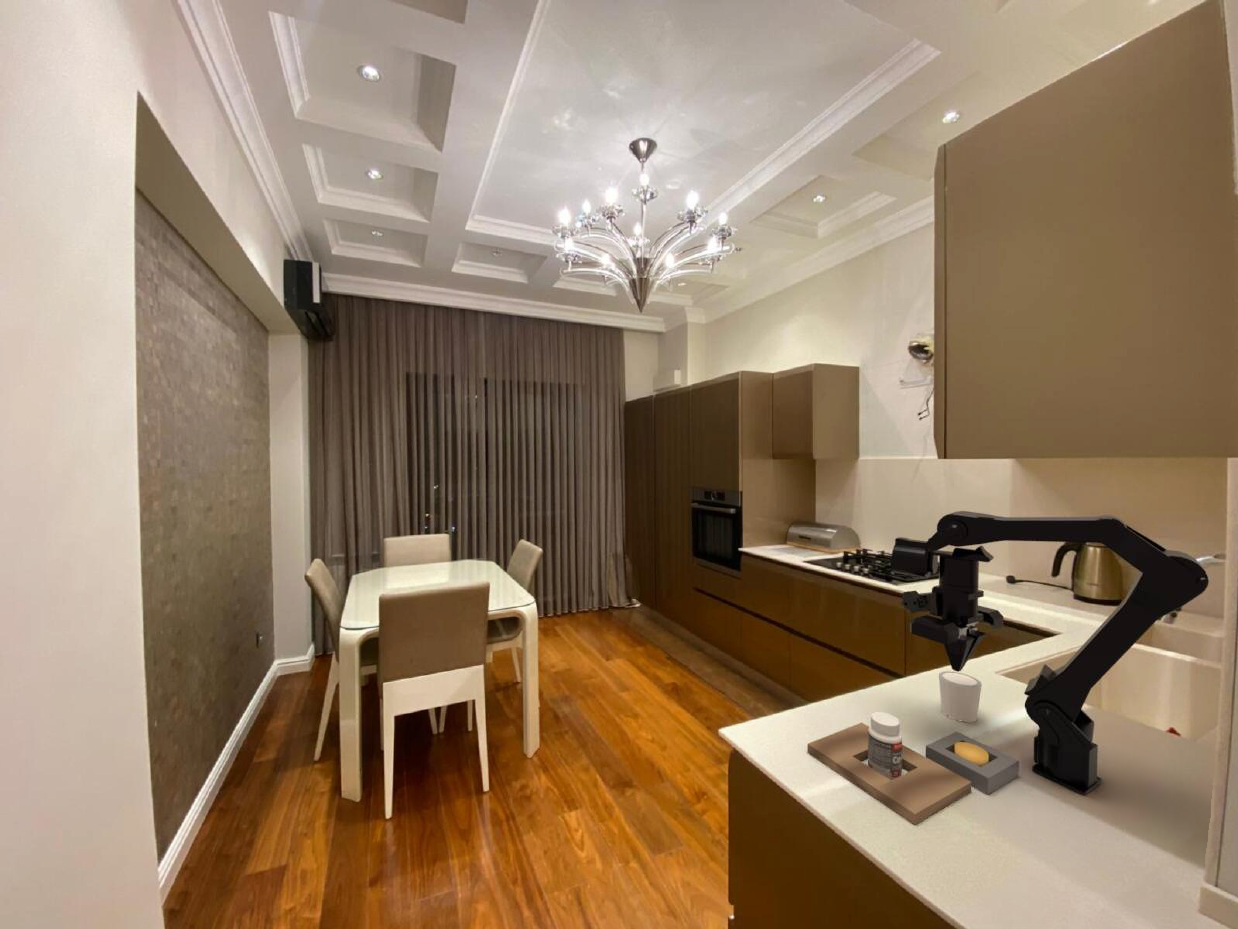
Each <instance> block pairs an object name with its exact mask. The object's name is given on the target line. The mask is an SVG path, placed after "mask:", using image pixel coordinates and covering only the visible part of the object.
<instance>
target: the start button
mask: <svg viewBox="0 0 1238 929" xmlns="http://www.w3.org/2000/svg"><path fill="white" fill-rule="evenodd" d="M955 754H956V755H958V756H960V757H962V758H964V759H966V760H968V761H970V762H972V763H974V764H976V765H978V766H980V767H982V766H984V765H985V764H987V763H988V761H989V755H988V753H987V752H986V751H985V750H984V749H983V748H981V747H979V746H977V745H974V744H971V743H967V742H958V743H956V744H955Z"/></svg>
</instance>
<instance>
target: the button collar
mask: <svg viewBox="0 0 1238 929" xmlns="http://www.w3.org/2000/svg"><path fill="white" fill-rule="evenodd" d="M958 742H967V743H971V744H974V745H977V746H979V747H981V748H983V749H984V750H985V751H986V752H987V753H988V755H989V761H988V763H987V764H985V765H984V766H982V767H980V766H978V765H976V764H974V763H972V762H970V761H968V760H966V759H964V758H962V757H960V756H958V755H956V754H955V744H956V743H958ZM925 757H926V758H928V759H930V760H932V761H934V762H936V763H937V764H939V765H941V766H943V767H945V768H947V769H948V770H950V771H952V772H954V773H956V774H958V775H960V776H961V777H963V778H965V779H967V780H969V781H971V787H973V788H975V789H977V790H978V791H980V792H982V793H984V794H986V795H987V796H989V795H990V794H992V793H993V792H995V791H998V789H1000V788H1002V787H1003V786H1006V785H1007V784H1008V783H1010V782H1011V781H1013V780H1015V779H1016V778H1018V777H1019V770H1020V769H1019V768H1020V765H1019V764H1020V761H1019V759H1016V758H1014V757H1012V756H1010V755H1008V754H1006V753H1004V752H1002V751H999V750H997V749H995V748H993V747H991V746H989V745H987V744H985V743H982V742H980V741H979V740H976V739H974V738H971V737H970V736H968V735H965V734H963V733H961V732H960V731H954V732H952V733H950V734H947V735H945V736H943V737H941V738H939V739H937V740H935V741H933V742H931V743H929V744H926V745H925Z"/></svg>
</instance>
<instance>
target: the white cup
mask: <svg viewBox="0 0 1238 929" xmlns="http://www.w3.org/2000/svg"><path fill="white" fill-rule="evenodd" d="M938 680H939V681H938V682H939V694H940V706H941V712H942V714H944V715H945V716H947V715H948V716H949V717H948V716H947V717H948V718H950V717H951V718H950V719H952V720H955V719H957V720H956V721H958V720H961V721H960V722H963V721H965V722H964V723H974V722H973V721H975V720H976V719H978V714H979V707H980V700H981V691H982V686H983V685H982V681H980V680H979V679H977V678H976V677H974V676H972V675H969V674H966V673H962V672H957V671H949V670H945V671H941V672H939V673H938ZM976 721H977V720H976ZM976 721H975V722H976Z"/></svg>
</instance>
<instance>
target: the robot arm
mask: <svg viewBox="0 0 1238 929" xmlns="http://www.w3.org/2000/svg"><path fill="white" fill-rule="evenodd" d="M1003 541H1004V542H1005V541H1009V542H1012V541H1013V542H1049V543H1050V542H1051V543H1059V542H1060V543H1089V544H1091V543H1093V544H1095V543H1096V544H1097V543H1098V544H1102V545H1104V546H1105V547H1107V548H1108V549H1109V550H1111V551H1112V552H1113V553H1115V554H1116V555H1117V556H1119V557H1120V558H1121V559H1123V560H1124V561H1125V562H1126V563H1128V564H1129V565H1131V566H1132V567H1134V569H1136V570H1138V573H1137V574H1136V576H1135V578H1134V580H1133V582H1132V584H1131V586H1130V588H1129V590H1128V593H1127V595H1126V597H1125V598H1124V599H1123V600H1122V601H1121V603H1120V604H1119V605H1118V606H1117V607H1116V608H1115V609H1114V611H1112V613H1110V615H1109V616H1108V617H1107V618H1106V619H1105V620H1104V621H1103V623H1101V625H1100V626H1099V627H1098V628H1097V629H1096V630H1095V631H1094V633H1092V635H1091V636H1089V638H1088V639H1087V640H1086V641H1085V642H1083V644H1082V645H1081V647H1080V648H1078V650H1077V651H1076V652H1075V653H1074V654H1073V656H1071V657H1070V659H1069V660H1068V661H1067V662H1066V663H1065V664H1064V665H1062V666H1060V667H1058V668H1056V669H1055V670H1053V669H1052V668H1051V667H1050V666H1048V665H1047V664H1043V666H1042V668H1041V669H1040V672H1039V673H1038V674H1037V675H1036V676H1035V677H1032V678H1030V679H1029V681H1028V683H1027V686H1026V688H1025V690H1024V693H1023V694H1024V695H1025V696H1027V697H1026V699H1025V702H1024V708H1025V711H1026V714H1027V716H1028V717H1029V718H1030V720H1031V721H1033V723H1035V724H1036V725H1037V726H1038V729H1037V735H1036V736H1034V737H1033V762H1034V763H1035V764H1034V765H1032V766H1031V770H1032V771H1033V772H1034V773H1037V774H1039V775H1041V776H1043V777H1045V778H1047V779H1049V780H1051V781H1054V782H1056V783H1058V784H1060V785H1062V786H1064V787H1067V788H1069V789H1071V790H1072V791H1075V792H1076V793H1079V794H1081V795H1087V794H1089V793H1090V792H1091V791H1092V790H1093V789H1095V788H1096V787H1097V786H1099V785H1100V784H1101V783H1102V777H1100V776H1098V754H1099V753H1098V752H1099V750H1098V749H1099V747H1098V746H1099V745H1098V744H1097V743H1096V742H1095V743H1094V742H1093V739H1094V731H1095V721H1094V720H1093V719H1092V718H1091V717H1090V716H1089V715H1088V714H1087V713H1086V712H1085V711H1084V710H1083V706H1084V704H1085V702H1086V701H1087V698H1088V695H1089V694H1090V692H1091V690H1092V688H1093V687H1094V686H1095V685H1096V684H1097V683H1098V682H1099V681H1101V679H1102V678H1104V676H1105V675H1106V674H1107V673H1108V672H1109V671H1110V670H1111V668H1113V667H1114V666H1115V665H1116V664H1117V662H1119V660H1120V659H1122V657H1123V656H1124V655H1125V654H1126V653H1128V651H1129V650H1130V649H1131V648H1132V647H1133V646H1134V645H1135V644H1136V643H1137V642H1138V640H1140V639H1141V637H1142V636H1143V635H1144V634H1145V633H1146V632H1147V631H1148V630H1149V629H1150V628H1152V626H1153V625H1154V624H1156V622H1157V621H1158V620H1160V619H1161V618H1163V617H1165V616H1167V615H1169V614H1170V613H1171V614H1172V613H1173V612H1175V611H1177V610H1179V609H1181V608H1182V607H1183V606H1185V605H1187V604H1188V603H1190V602H1192V600H1194V599H1196V598H1198V597H1199V596H1200V595H1202V594H1203V593H1205V591H1206V589H1207V588H1208V587H1209V581H1210V580H1209V576H1208V574H1207V572H1206V570H1205V568H1204V567H1203V565H1202V564H1201V563H1200V562H1199V561H1198V560H1197V559H1196V558H1195V557H1193V556H1192V555H1190V554H1188V553H1186V552H1183V551H1180V550H1172V549H1167V548H1165V547H1163V546H1162V545H1161V544H1159V543H1157V542H1156V541H1154V540H1153V539H1151V538H1149V537H1148V536H1147V535H1144V534H1142V533H1141V532H1139V531H1137V530H1136V529H1135V528H1132V527H1131V526H1129V525H1128V524H1126V523H1125V522H1124V521H1123V520H1122V519H1121V518H1119V517H1117V516H1114V515H1108V514H1105V515H1100V516H1099V515H1098V516H1037V517H1036V516H1031V517H1030V516H1026V517H1025V516H1020V517H1019V516H1018V517H1016V516H1015V517H1014V516H1013V517H1012V516H1010V517H1008V516H1007V517H1006V516H999V515H993V514H987V513H982V512H976V511H967V510H960V511H957V510H956V511H954V512H951V513H948V514H946V515H943V516H942V517H941V518H940V519H939V520H938V522H937V524H936V532H935V533H934V534H933V535H932V536H931V537H929V538H928V539H927V541H926V540H919V539H911V538H908V537H903V536H898V537H896V538H895V539H894V546H893V547H892V552H891V555H890V559H889V560H890V563H889V564H890V570H891V572H892V573H896V574H901V575H907V576H915V577H918V578H919V577H920V578H926V579H928V578H929V577H930V576H931V574H936V573H937V571H938V585H934V586H933V587H931V591H930V592H929V591H928V592H922V593H921V592H920V593H919V592H918V591H917V590H907V591H903V592H902V597H901V598H902V599H901V606H903V607H904V609H905V610H906V611H907V610H908V613H909V614H916V613H921V612H922V613H924V612H929V615H928V614H926V615H922V616H918V617H915V618H914V619H912V620H910V623H909V632H910V634H912V635H915V636H918V637H921V638H924V639H927V640H930V641H933V642H936V643H939V644H942V645H943V648H944V650H945V652H946V655H947V658H948V661H949V663H950V666H951V670H953V671H954V672H958V673H960V672H962V670H963V668H964V667H965V665H966V664H967V662H968V661H969V659H970V658H971V656H972V655H973V653H974V652H975V650H976V649H977V647H978V646H979V644H980V643H981V641H982V640H983V638H985V637H986V636H987V633H986V632H983V631H980V630H978V626H976V624H977V625H978V624H980V623H987V624H989V626H990V627H991V628H992V629H993V630H994V629H995V630H997V629H1000V628H1004V615H1002V613H1001V612H1000V611H999V610H998V609H993V608H990V607H986V606H982V605H979V599H980V598H984V596H985V595H984V593H985V591H984V590H983V589H982V590H981V589H979V582H980V581H979V580H980V579H979V577H980V576H979V575H980V574H979V571H980V570H979V569H980V562H982V563H990V562H991V561H992V560H994V557H995V556H994V555H992V554H991V553H990V552H988V551H987V550H986V549H985V547H984V546H983V545H986V544H990V543H997V542H1003ZM977 545H979V546H977ZM948 546H950V547H954V549H953V550H952V551H950V550H949V551H947V550H941V549H943V548H946V547H948ZM968 546H977V547H976V549H973V548H963V547H968ZM938 557H939V558H938ZM938 568H939V570H938ZM938 617H940V618H938Z"/></svg>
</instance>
